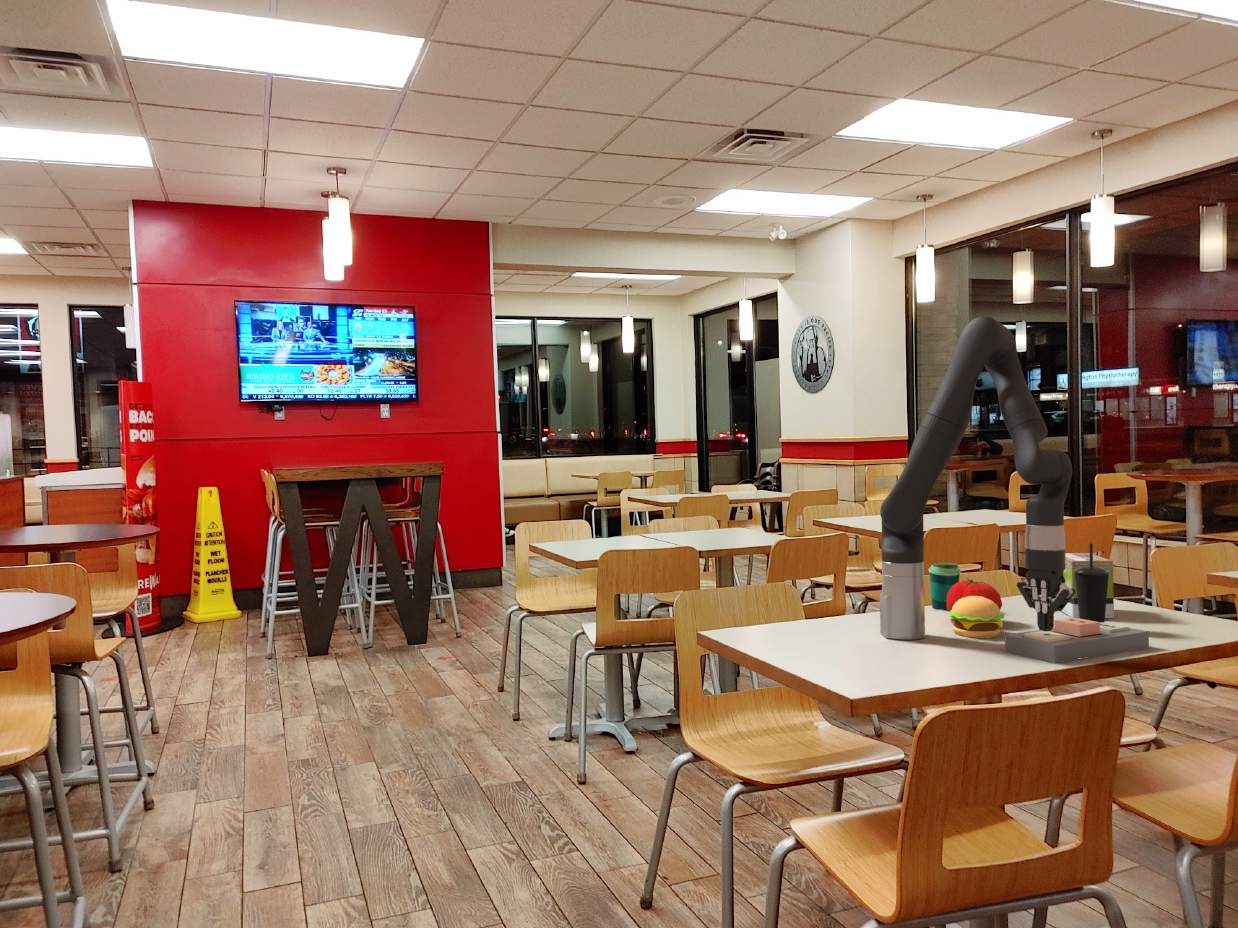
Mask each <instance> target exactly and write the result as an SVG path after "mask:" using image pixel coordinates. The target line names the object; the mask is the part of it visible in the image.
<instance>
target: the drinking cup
mask: <svg viewBox="0 0 1238 928" xmlns="http://www.w3.org/2000/svg"><path fill="white" fill-rule="evenodd" d="M1088 546H1089V552H1088V553H1090V565H1088V566H1082V567H1079V568H1077V569H1074V570H1073V573H1074V574H1075V583H1076V592H1077V601H1078V609H1079V619H1085V620H1090V621H1096V622H1105V623H1106V618H1105V612H1106V601H1107V589H1108V578H1109V574H1110V571H1108V570H1105V569H1104V568H1101V567H1098V566H1093V554H1094V552H1093V551H1094V548H1093V547H1094V546H1093V543H1089V545H1088Z"/></svg>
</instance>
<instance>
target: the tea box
mask: <svg viewBox="0 0 1238 928" xmlns="http://www.w3.org/2000/svg"><path fill="white" fill-rule="evenodd" d="M1113 561H1114V560H1111V559H1108V558H1106V557H1102V556H1099V555H1096V554H1094V553H1093V566H1098V567H1101V568H1104V569H1105V570H1108V571H1110V574H1109V578H1108V589H1107V601H1106V612H1105V619H1114V618H1115V603H1114V602H1115V600H1114V599H1115V597H1114V596H1115V595H1114V594H1115V593H1114V563H1113ZM1088 565H1090V553H1089V552H1087V553H1086V552H1084V553H1083V552H1080V553H1079V552H1071V553H1069V552H1068V553H1066V552H1065V570H1064V572H1063V575H1064V578H1065V584H1066V585H1067V586H1068V587H1069V588H1070V589H1072V588H1073V589H1075V594H1074V595H1073V597H1072V598H1071V599H1070V601H1069V602H1068V603H1067V605H1066V606H1065V607H1064V609H1063V610H1062V611H1061V612H1062V613H1063V614H1066V615H1067V616H1069V617H1070V616H1071V617H1070V618H1079V609H1078V601H1077V592H1076V583H1075V574H1074V573H1073V570H1074V569H1077V568H1079V567H1082V566H1088ZM1058 595H1059V594H1058ZM1079 619H1080V618H1079Z"/></svg>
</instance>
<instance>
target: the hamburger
mask: <svg viewBox="0 0 1238 928" xmlns="http://www.w3.org/2000/svg"><path fill="white" fill-rule="evenodd" d="M947 614H948V617H950V620H949V621H950V622H951V624H953V626H952V630H953V632H954V633H955V635H958V636H961V637H965V636H967V637H966V638H973V637H977V638H979V639H988V638H987V637H990V638H995V637H997V636H998V635H1000V633H1001V629H1002V628H1003V625H1004V624H1003V621H1002V619H1005V614H1004V613H1001V609H999V608H998V606H997V604H995V603H994V602H993V601H992V600H989V599H987V598H984V597H981V596H968V597H965V598H962V599H960V600H958V601H957V602H956V603H955V604H954V606H953V607H952V610H951V611H950V612H947Z"/></svg>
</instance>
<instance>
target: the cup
mask: <svg viewBox="0 0 1238 928" xmlns="http://www.w3.org/2000/svg"><path fill="white" fill-rule="evenodd" d="M928 572H929V586H930V587H929V589H930V598H931V606H932V608H933V609H934V610H937V611H938V610H939V611H948V609H947V594H948V592H949V590H950V589H951V587H952V586H953V585H954V584H956V583H958V582H960V575H961V574H962V570H961V569H960V568H959V565H958V564H957V563H954V562H953V563H952V562H935V563H932V564H931V566H930V567H929V568H928Z"/></svg>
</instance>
